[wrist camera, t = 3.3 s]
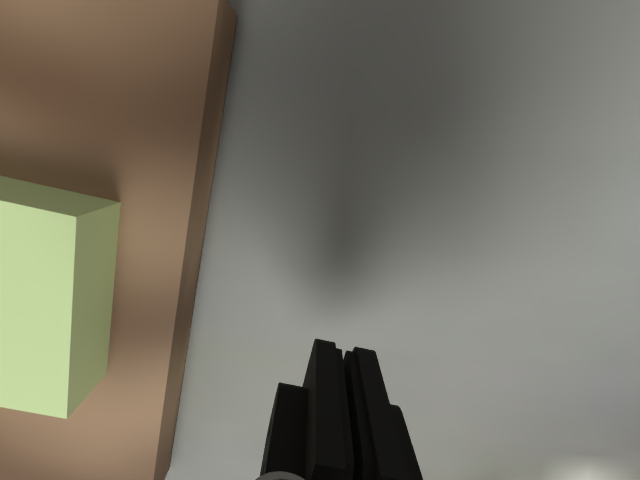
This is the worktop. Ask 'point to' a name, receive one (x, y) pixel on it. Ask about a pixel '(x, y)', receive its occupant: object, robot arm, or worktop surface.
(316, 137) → the worktop surface
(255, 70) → the worktop surface
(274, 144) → the worktop surface
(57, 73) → the plate
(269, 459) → the robot arm
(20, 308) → the sponge
